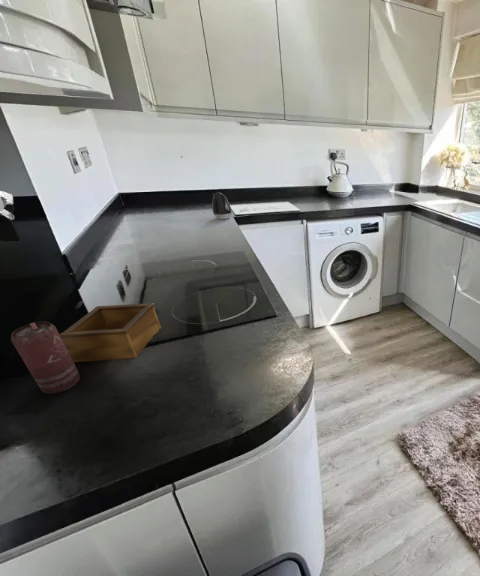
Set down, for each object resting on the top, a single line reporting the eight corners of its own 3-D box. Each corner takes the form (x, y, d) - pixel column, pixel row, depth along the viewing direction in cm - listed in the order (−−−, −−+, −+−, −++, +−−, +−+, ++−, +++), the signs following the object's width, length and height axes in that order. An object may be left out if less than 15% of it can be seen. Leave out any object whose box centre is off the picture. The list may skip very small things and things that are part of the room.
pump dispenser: (224, 215, 200) (218, 190, 193) (236, 217, 196) (232, 191, 189) (210, 219, 191) (204, 193, 184) (223, 221, 187) (217, 194, 181)
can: (76, 370, 72) (48, 316, 65) (85, 382, 68) (56, 327, 62) (38, 386, 67) (4, 329, 61) (46, 400, 64) (11, 341, 58)
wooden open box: (72, 362, 74) (58, 335, 71) (107, 331, 86) (97, 306, 82) (136, 358, 76) (125, 331, 72) (162, 327, 87) (154, 303, 84)
